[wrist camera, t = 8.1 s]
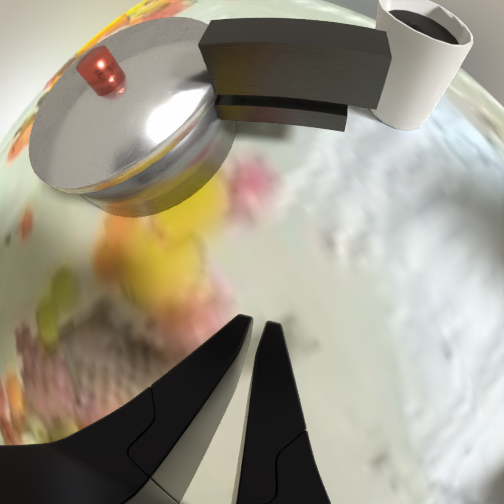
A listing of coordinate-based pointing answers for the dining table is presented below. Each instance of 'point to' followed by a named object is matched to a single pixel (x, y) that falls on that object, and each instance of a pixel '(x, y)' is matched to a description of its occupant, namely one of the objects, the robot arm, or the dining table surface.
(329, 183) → the dining table surface
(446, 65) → the white cup
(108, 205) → the pot
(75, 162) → the lid
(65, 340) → the dining table surface
